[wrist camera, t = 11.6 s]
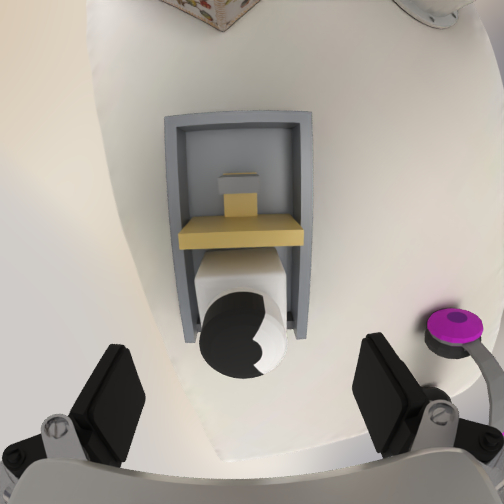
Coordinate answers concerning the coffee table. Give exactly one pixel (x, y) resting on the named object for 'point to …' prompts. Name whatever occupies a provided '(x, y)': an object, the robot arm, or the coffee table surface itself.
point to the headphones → (466, 355)
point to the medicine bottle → (242, 311)
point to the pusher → (240, 220)
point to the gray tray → (268, 201)
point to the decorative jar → (215, 10)
